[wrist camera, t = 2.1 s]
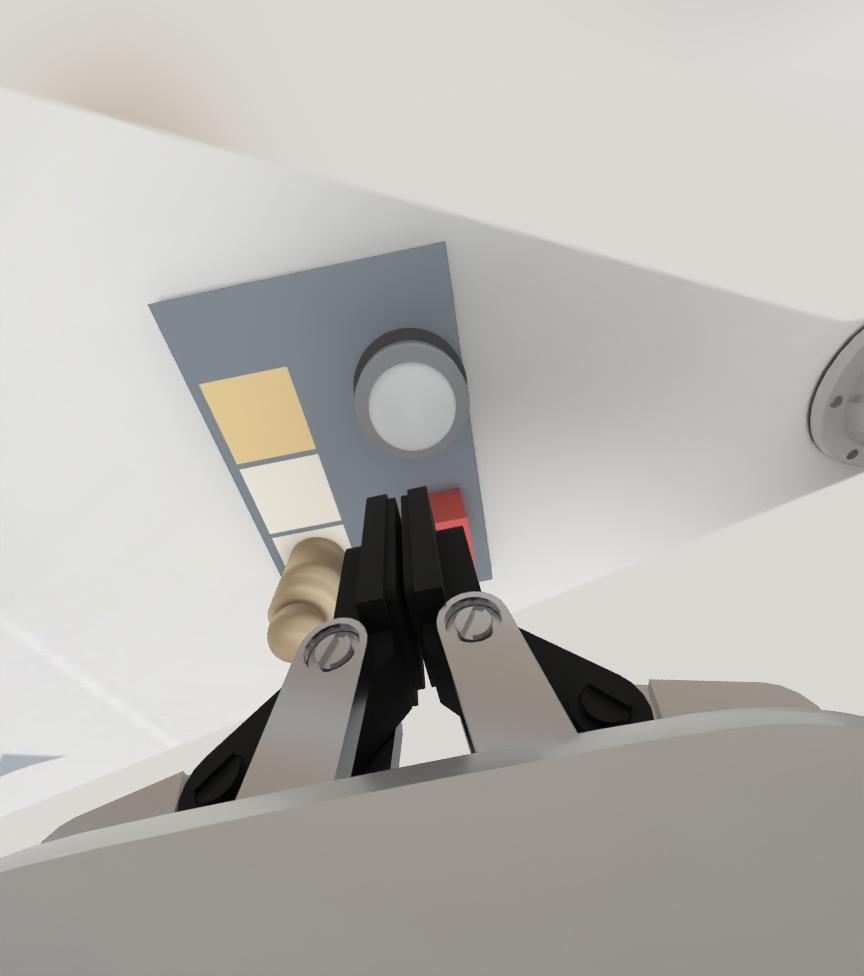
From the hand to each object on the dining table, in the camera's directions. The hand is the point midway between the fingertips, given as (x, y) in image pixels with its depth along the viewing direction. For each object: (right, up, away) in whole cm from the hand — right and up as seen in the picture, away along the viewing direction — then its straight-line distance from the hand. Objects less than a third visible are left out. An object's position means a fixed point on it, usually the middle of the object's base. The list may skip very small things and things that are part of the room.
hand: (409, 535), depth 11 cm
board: (-5, +3, +18) cm, 19 cm away
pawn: (-8, -4, +20) cm, 22 cm away
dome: (-1, +7, +13) cm, 14 cm away
